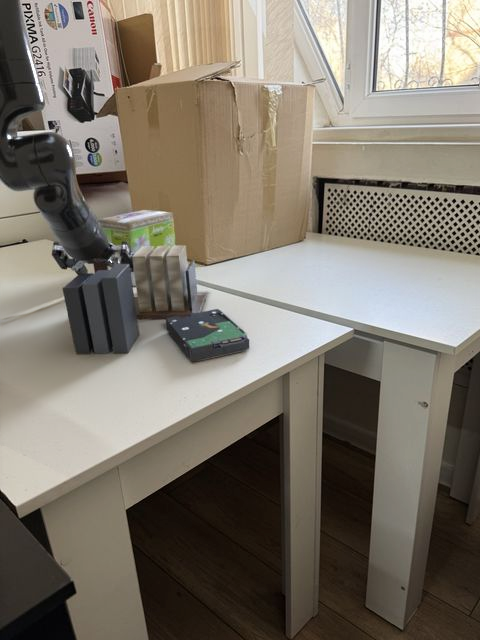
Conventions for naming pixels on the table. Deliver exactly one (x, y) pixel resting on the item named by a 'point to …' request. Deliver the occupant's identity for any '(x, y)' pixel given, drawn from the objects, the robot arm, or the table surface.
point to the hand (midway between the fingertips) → (106, 274)
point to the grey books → (102, 311)
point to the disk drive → (207, 335)
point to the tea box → (140, 230)
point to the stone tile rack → (165, 283)
